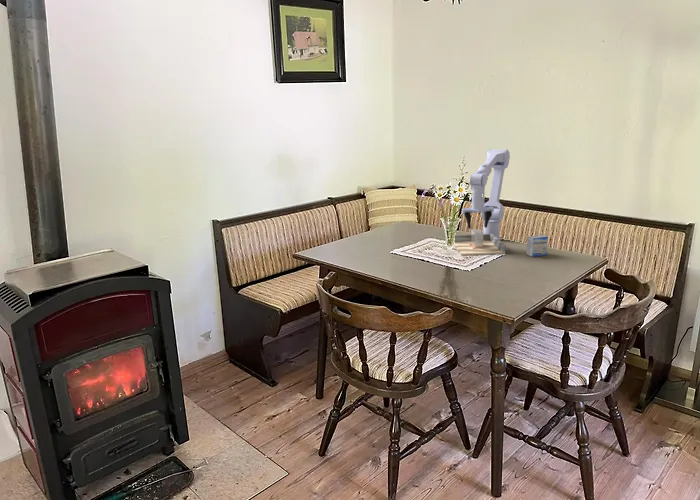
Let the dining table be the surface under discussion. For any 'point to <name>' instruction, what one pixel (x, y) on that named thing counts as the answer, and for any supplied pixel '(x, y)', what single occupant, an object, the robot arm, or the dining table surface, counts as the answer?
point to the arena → (489, 247)
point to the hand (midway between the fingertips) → (477, 227)
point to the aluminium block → (477, 238)
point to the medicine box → (537, 245)
